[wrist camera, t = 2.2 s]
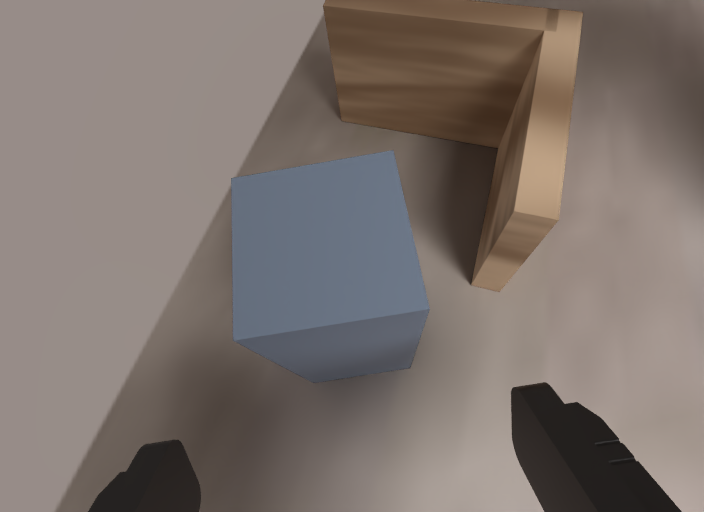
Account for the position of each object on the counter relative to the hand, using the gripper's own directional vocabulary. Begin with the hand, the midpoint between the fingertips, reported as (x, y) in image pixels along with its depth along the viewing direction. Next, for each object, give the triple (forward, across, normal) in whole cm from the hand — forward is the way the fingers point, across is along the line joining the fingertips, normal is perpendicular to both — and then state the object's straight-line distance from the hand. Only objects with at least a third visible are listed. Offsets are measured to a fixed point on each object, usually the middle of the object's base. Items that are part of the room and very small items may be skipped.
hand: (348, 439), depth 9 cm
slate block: (+11, 0, +4) cm, 11 cm away
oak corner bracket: (+17, -5, -2) cm, 17 cm away
